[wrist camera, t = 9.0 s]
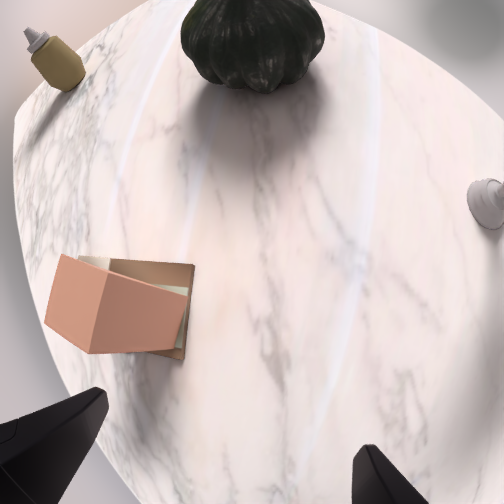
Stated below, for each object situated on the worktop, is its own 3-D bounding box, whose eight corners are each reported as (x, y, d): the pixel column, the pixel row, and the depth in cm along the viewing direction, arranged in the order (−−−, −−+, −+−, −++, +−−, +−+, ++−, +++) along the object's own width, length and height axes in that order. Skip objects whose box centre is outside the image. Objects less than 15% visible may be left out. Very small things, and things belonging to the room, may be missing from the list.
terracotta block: (174, 348, 22) (88, 354, 12) (132, 330, 23) (44, 323, 14) (188, 296, 23) (108, 272, 13) (145, 282, 24) (61, 253, 14)
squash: (227, 3, 28) (163, -34, 15) (336, 8, 24) (317, -50, 11) (214, 90, 35) (142, 86, 22) (322, 105, 31) (298, 95, 19)
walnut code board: (184, 359, 22) (179, 360, 21) (73, 329, 25) (67, 328, 25) (194, 265, 24) (190, 263, 23) (83, 257, 27) (78, 255, 27)
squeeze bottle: (63, 84, 42) (16, 36, 25) (91, 62, 41) (47, 9, 25) (58, 103, 40) (4, 52, 23) (89, 79, 39) (37, 21, 22)
